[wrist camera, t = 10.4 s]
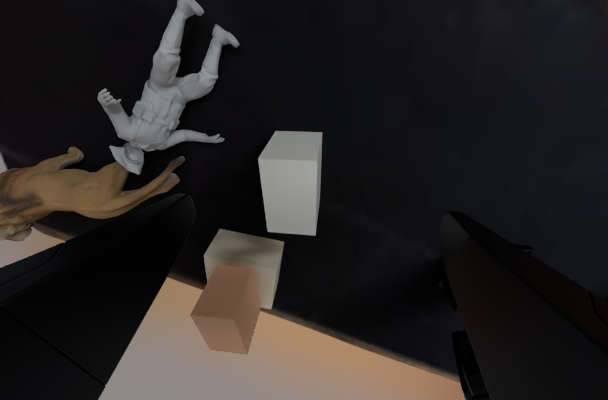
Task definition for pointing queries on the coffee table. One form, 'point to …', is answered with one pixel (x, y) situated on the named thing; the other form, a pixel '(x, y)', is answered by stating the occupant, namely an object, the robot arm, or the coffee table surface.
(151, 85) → the soldier figure
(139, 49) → the coffee table surface
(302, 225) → the off-white brick
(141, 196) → the lion figurine
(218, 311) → the terracotta brick
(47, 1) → the coffee table surface
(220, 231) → the birch block
